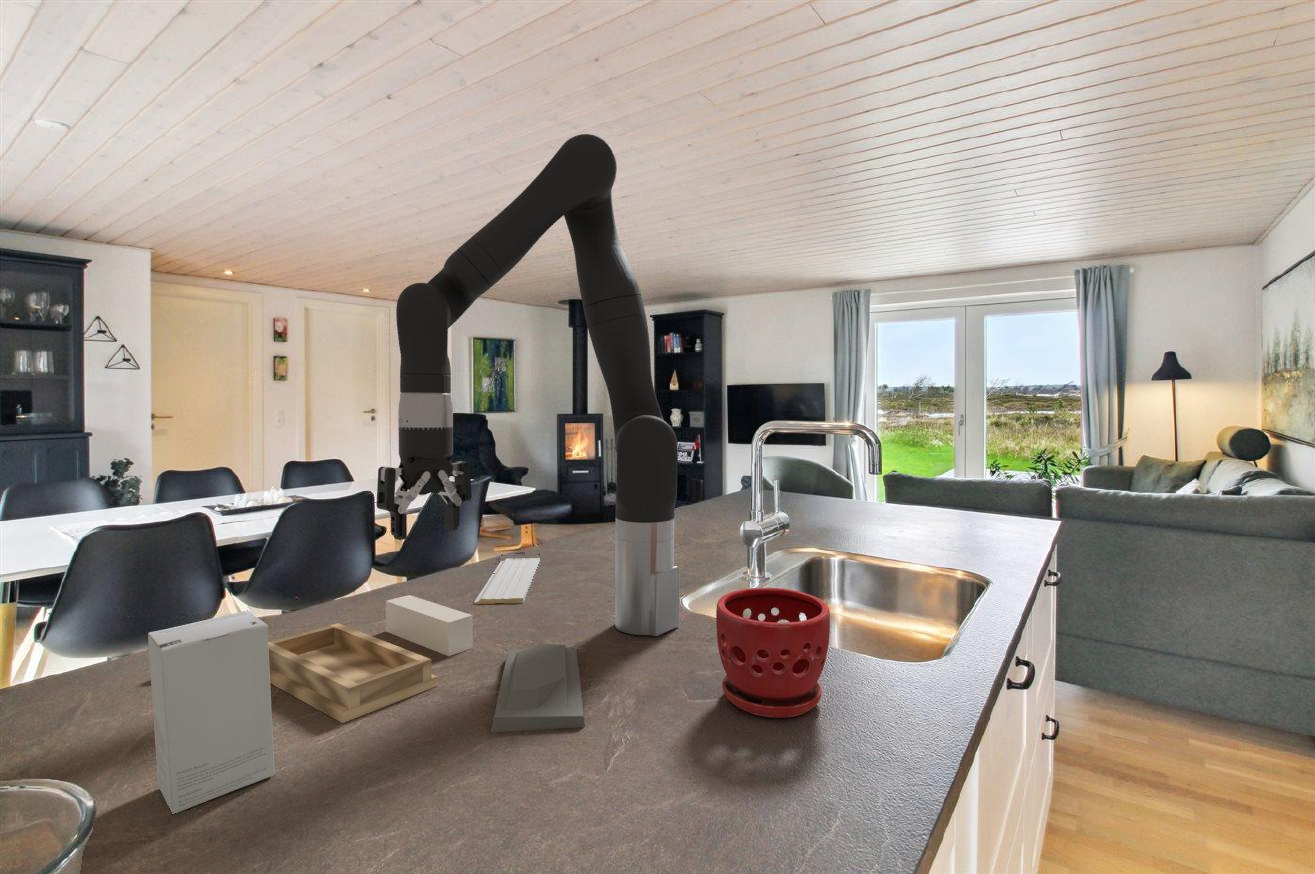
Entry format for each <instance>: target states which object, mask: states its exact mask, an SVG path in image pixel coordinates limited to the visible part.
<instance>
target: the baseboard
mask: <svg viewBox="0 0 1315 874" xmlns="http://www.w3.org/2000/svg"><path fill="white" fill-rule="evenodd" d="M523 554H526V553H525V551H524V552H523V551H520V552H515V554H514V555H523ZM500 556H501V557H503V554H501V555H500ZM538 556H541V554H540V553H538ZM499 559H500V557H499V558H497V560H498V562H500V563H499V564H498V565H497V566H496V568H495V569H494V571H493V573H495V574H493V573H492V574H491V576H490V577H489V579H488V580H487V581H486V583H485V585H484V587H483V588H482V589H481V590H480V592H479V593H478V595H477V597H476V598H475V600H474V602H473V604H474V605H489V604H491V605H494V604H495V603H504V604H524V602H525V600H526V598H525V597H527V595H528V593H529V590H530V588H531V586H532V583H533V581H532V579H533V580H534V578H533V576H534V574H535V575H536V573H537V571H536V569H537V570H538V568H539V566H538V564H539V565H540V563H541V558H540V557H534V558H533V557H530V558H525V557H524V558H523V557H522V558H517V557H515V558H505V559H504V560H500V561H499ZM539 562H540V563H539ZM537 567H538V568H537ZM535 572H536V573H535ZM534 577H535V576H534ZM531 582H532V583H531ZM530 585H531V586H530ZM529 587H530V588H529ZM528 589H529V590H528ZM527 592H528V593H527ZM526 594H527V595H526ZM495 605H496V604H495Z"/></svg>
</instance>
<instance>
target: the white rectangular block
mask: <svg viewBox="0 0 1315 874" xmlns="http://www.w3.org/2000/svg"><path fill="white" fill-rule="evenodd" d="M473 618H474V617H473V614H470V613H466V612H463V611H459V610H458V609H454V608H452V607H448V606H445V605H442V604H438V603H435V602H432V601H429V600H427V599H423V598H420V597H417V596H414V595H412V594H408V595H404V596H400V597H395V598H391V599H388V600H387V599H386V600H385V631H386V633H389V634H392V635H393V636H397V637H399V638H402V639H404V640H406V641H409V642H411V643H414V644H416V645H420V646H421V647H424V648H426V649H429V650H432V651H434V652H437V653H440V654H441V655H444V656H447V657H452V656H453V655H457V654H460V653H462V652H466V651H469V650H471V649H473V648H474V641H473V639H474V638H473V636H474V633H473V631H474V630H473V621H474V620H473Z"/></svg>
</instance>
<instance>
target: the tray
mask: <svg viewBox="0 0 1315 874" xmlns="http://www.w3.org/2000/svg"><path fill="white" fill-rule="evenodd" d="M268 647H269V668H270V685H273V686H274V687H277V688H278V689H280V690H282V691H284V692H286V693H288V694H289V695H291V696H293V697H294V698H296V699H298V700H300V701H302V702H303V703H306V704H307V705H309V706H311V707H313V708H315V710H318V711H320V712H322V713H324V714H325V715H327V716H329V717H331V718H332V719H334V720H336V721H337V722H340V723H341V724H344V723H347V722H350V721H353V720H355V719H356V718H357V719H358V718H360V717H362V716H365V715H367V714H369V713H373V712H375V711H377V710H380V709H382V708H385V707H388V706H390V705H393V704H395V703H398V702H400V701H402V700H405V699H407V698H410V697H413V696H416V695H418V694H420V693H423V692H426V691H428V690H431V689H433V688H436V687H438V676H437V675H435V674H433V672H432V671H433V669H432V659H431V658H430V657H426V656H425V655H422V654H419V653H416V652H414V651H411V650H408V649H406V648H403V647H402V646H398V645H395V644H392V643H390V642H388V641H385V640H383V639H380V638H378V637H374V636H373V635H370V634H367V633H364V632H361V631H359V630H356V629H354V628H352V627H349V626H346V625H343V624H341V623H339V622H338V623H334V624H329V625H326V626H321V627H319V628H314V629H312V630H311V629H310V630H307V631H303V632H300V633H296V634H291V635H289V636H285V637H281V638H278V639H274V640H271V641H268Z"/></svg>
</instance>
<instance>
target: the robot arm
mask: <svg viewBox="0 0 1315 874" xmlns="http://www.w3.org/2000/svg"><path fill="white" fill-rule="evenodd" d="M617 167H618V164H617V157H616V154H615V153H614V149H613V148H612V146H611V145H610V144H609V143H608V142H607V141H606V140H604V139H603V138H601V137H600V136H598V135H595V134H591V133H584V134H583V133H582V134H576V135H574V136H572V137H570V138H568V139H567V140H566V141H565V142H564V143H563V144H562V145H561V147H560V148H559V149H558V151H557V152H556V153H555V154H554V156H553V157H552V158H551V159H550V161H548V163H547V164H546V166H545V167H544V168H543V169H542V170H541V172H539V173H538V174H537V176H536V177H535V178H534V179H533V180H532V182H531V183H530V184H528V185H527V187H526V188H525V189H524V190H523V191H521V193H520V194H518V196H516V197H515V199H513V200H512V202H510V203H509V204H508V205H506V207H505V208H504V209H503V210H502V211H500V212H499V213H498V214H497V215H496V216H494V217H493V218H492V219H491V220H490V221H489V222H487V223H486V224H485V225H483V227H482V228H481V229H479V230H478V231H477V232H476V233H474V234H472V236H471V237H470V238H468V240H466V241H465V242H464V243H463V244H462V245H461V246H459V247H458V248H457V249H456V250H455V251H454V252H453V253H451V254H450V256H449V257H448V258H447V259H446V260H445V262H444V265H443V267H442V269H441V270H440V271H439V272H438V273H437V274H436V275H434V276H433V277H431V279H430V280H428V282H415V283H412V284H410V285H408V286H407V287H405V288H404V289H403V290H402V291H401V292H400V294H399V295H398V298H397V301H396V310H395V311H396V316H395V317H396V318H395V319H396V330H397V340H398V346H399V347H398V348H399V352H400V366H399V392H400V393H399V401H398V408H397V409H398V411H397V413H398V415H397V416H398V417H397V418H398V419H397V423H398V425H397V426H398V427H397V428H398V455H399V459H400V462H399V465H398V467H390V466H380V467H379V468H378V470H377V471H378V472H377V485H376V486H377V487H376V489H377V490H376V507H377V509H379V510H383V511H386V512H388V513H389V514H390V516H389V517H390V534H391V536H393V538H394V539H395V540H399V541H403V540H406V539H407V538H408V532H407V531H408V525H407V523H408V522H407V520H408V515H407V513H405V512H406V511H407V509H408V508H409V506H410V505H411V504H412V502H415V500H416V498H417V497H418V496H419V495H420V496H424V495H428V494H437V495H439V496H440V497H441V498H442V500H443V501H444V503H445V504H446V505H444V530H446V531H448V532H456V531H458V528H459V527H460V523H461V520H460V519H461V518H460V516H461V515H460V514H461V513H460V510H461V509H460V506H461V505H462V504H463V503H464V502H466V501H468V502H469V501H470V500H471V499H472V482H471V479H472V478H471V464H470V463H469V462H468V461H463V460H462V461H461V460H458V461H457V460H456V461H455V462H452V455H453V454H454V410H453V402H452V401H453V400H452V370H451V369H452V368H451V361H450V358H449V355H448V353H449V352H448V349H449V348H448V344H449V343H448V342H449V341H448V340H449V339H448V338H449V328H450V327H452V326H453V325H454V323H456V322H457V321H458V320H459V319H460V318H461V317H462V316H463V315H464V314H465V313H466V311H467V310H469V308H470V307H471V306H472V305H473V304H474V303H475V302H476V300H477V299H478V298H479V297H481V296H482V295H483V294H485V293H486V292H487V291H489V290H490V289H491V288H492V287H493V286H495V285H496V284H497V283H498V282H499V281H500V280H502V279H503V277H505V276H506V275H507V274H508V273H509V272H510V271H511V270H513V268H515V267H516V265H518V263H519V262H520V261H521V260H522V259H523V258H524V257H525V255H527V253H528V252H529V251H530V250H531V249H532V248H533V246H535V244H536V243H537V242H538V241H539V239H541V238H542V236H544V234H546V232H547V231H548V230H549V229H550V228H551V227H552V226H553V225H555V223H556V222H558V221H559V220H560V219H561V218H563V217H564V220H565V222H566V224H565V225H566V226H567V230H568V233H569V235H570V238H571V244H572V247H573V252H574V259H575V260H574V261H575V266H576V268H575V269H576V274H577V282H578V287H579V293H580V297H581V298H580V299H581V302H582V308H583V312H584V317H585V321H586V326H587V329H588V330H587V331H588V334H589V338H590V341H591V345H592V348H593V350H594V351H593V352H594V354H595V358H596V360H597V364H598V366H599V368H600V371H601V373H602V376H603V380H604V382H605V386H606V389H607V392H608V397H609V402H610V410H611V416H612V417H611V418H612V424H613V432H614V447H615V452H616V490H615V491H616V492H615V495H616V496H615V545H614V546H615V553H614V555H615V562H614V563H615V564H614V567H615V570H614V571H615V572H614V573H615V574H614V575H615V577H614V578H615V579H614V581H615V584H614V586H615V587H614V592H615V594H614V596H615V597H614V598H615V599H614V602H615V603H614V604H615V606H614V608H615V611H614V612H615V613H614V614H615V617H614V620H615V621H614V622H615V624H614V625H615V628H616V630H619V631H620V632H622V633H625V634H629V635H633V636H634V635H635V636H636V635H637V636H653V637H658V636H661V635H663V634H664V633H665V634H666V633H667V632H669V631H672V630H674V629H676V628H679V627H680V567H679V566H677V565H675V514H676V513H675V512H676V510H675V509H676V502H677V496H678V469H679V468H678V466H679V465H678V464H679V462H678V460H679V457H678V455H679V449H678V440H677V436H676V433H675V431H674V429H673V427H672V426H671V425H670V424H669V423H667V421H665V420H664V419H665V418H664V417H663V414H662V411H661V407H660V404H659V402H658V399H657V398H658V397H657V395H656V392H655V387H654V384H653V383H654V382H653V377H652V363H651V362H652V361H651V360H652V359H651V346H650V334H649V328H648V327H649V326H648V321H647V320H648V319H647V314H646V311H645V310H646V309H645V306H644V301H643V297H642V292H641V290H640V286H639V282H638V280H637V277H636V274H635V272H634V269H633V268H632V265H631V264H630V261H629V260H628V257H627V255H626V253H625V251H624V248H623V247H622V244H621V242H620V238H619V235H618V231H617V226H616V221H615V214H614V208H613V207H614V206H613V198H612V197H613V196H612V190H613V187H614V184H615V182H616V181H615V180H616V179H617V171H618V169H617ZM452 475H453V479H454V484H453V482H451V480H450V478H451V476H452ZM399 478H400V480H401V483H400V484H399V486H398V488H397V489H396V483H397V482H398V480H399Z"/></svg>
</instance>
